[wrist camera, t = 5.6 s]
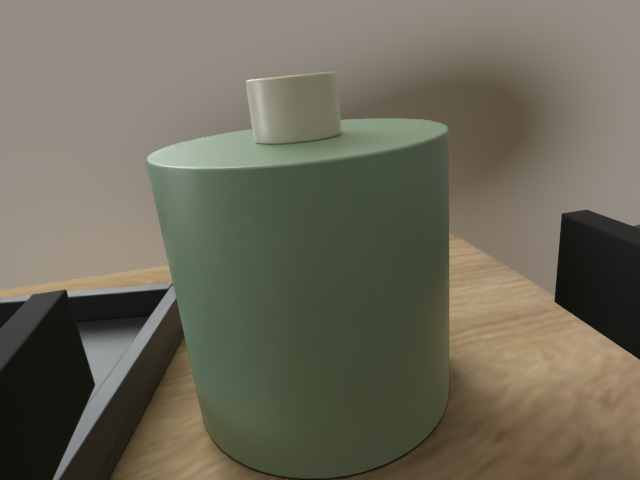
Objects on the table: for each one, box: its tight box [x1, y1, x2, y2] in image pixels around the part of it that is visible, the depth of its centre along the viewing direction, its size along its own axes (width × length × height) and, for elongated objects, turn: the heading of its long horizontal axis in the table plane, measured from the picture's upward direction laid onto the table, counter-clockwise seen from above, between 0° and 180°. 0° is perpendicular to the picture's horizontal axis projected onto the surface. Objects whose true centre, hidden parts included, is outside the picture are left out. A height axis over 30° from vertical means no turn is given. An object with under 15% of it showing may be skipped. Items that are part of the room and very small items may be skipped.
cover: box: [147, 71, 449, 479], centre depth 17 cm, size 10×10×12 cm
